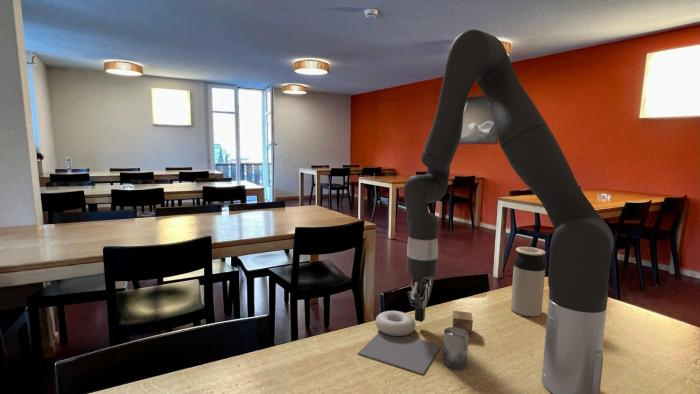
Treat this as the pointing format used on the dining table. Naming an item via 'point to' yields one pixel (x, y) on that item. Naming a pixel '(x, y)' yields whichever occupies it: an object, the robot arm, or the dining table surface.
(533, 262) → the travel mug
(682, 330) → the dining table surface
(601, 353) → the robot arm
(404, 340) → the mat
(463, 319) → the walnut block
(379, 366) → the dining table surface
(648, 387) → the dining table surface
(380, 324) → the donut
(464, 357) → the grey cylinder
